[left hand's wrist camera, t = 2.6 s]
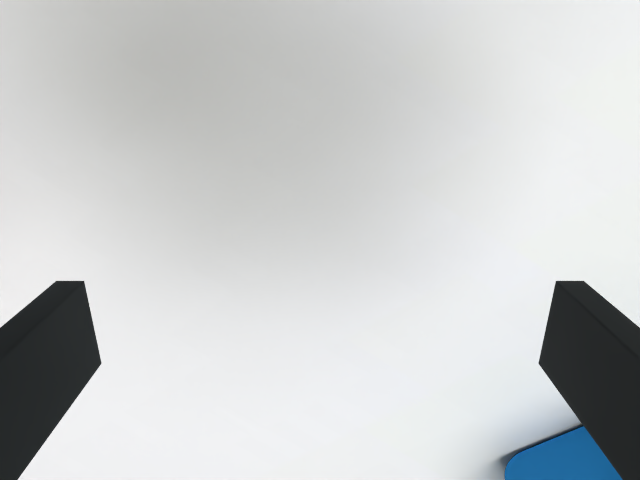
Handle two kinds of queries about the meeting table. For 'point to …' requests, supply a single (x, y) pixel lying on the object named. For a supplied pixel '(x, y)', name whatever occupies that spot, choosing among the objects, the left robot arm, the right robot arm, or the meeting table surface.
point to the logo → (562, 460)
